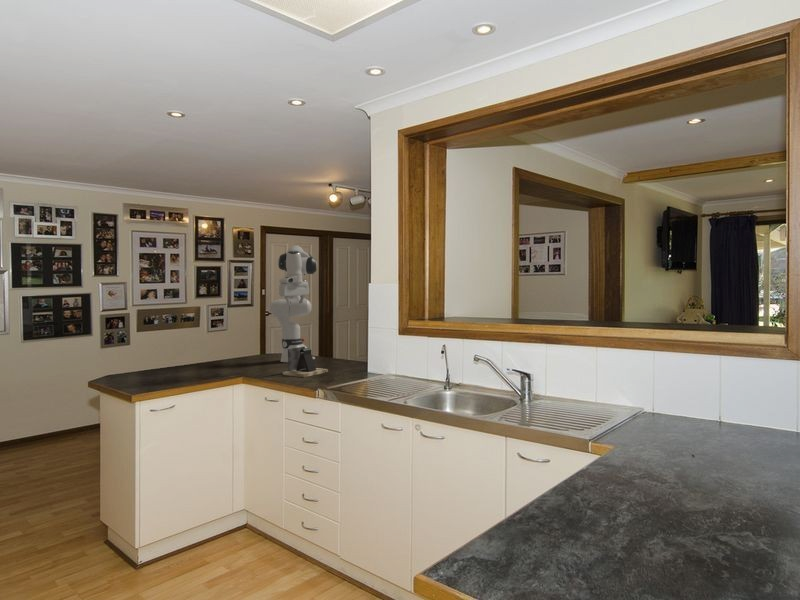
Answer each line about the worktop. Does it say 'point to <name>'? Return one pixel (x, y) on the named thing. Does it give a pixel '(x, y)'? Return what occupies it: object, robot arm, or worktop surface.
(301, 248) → the robot arm
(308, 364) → the door stopper
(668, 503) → the worktop surface
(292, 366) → the l-shaped stand
